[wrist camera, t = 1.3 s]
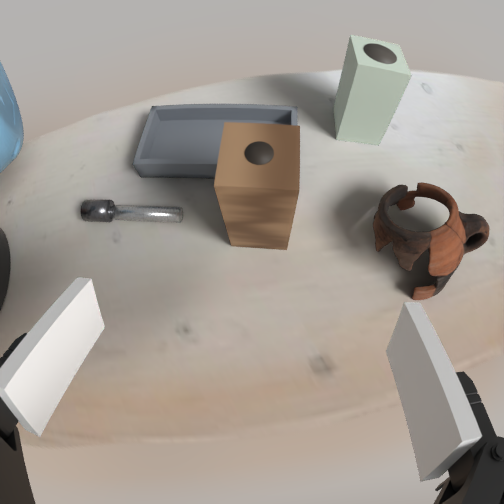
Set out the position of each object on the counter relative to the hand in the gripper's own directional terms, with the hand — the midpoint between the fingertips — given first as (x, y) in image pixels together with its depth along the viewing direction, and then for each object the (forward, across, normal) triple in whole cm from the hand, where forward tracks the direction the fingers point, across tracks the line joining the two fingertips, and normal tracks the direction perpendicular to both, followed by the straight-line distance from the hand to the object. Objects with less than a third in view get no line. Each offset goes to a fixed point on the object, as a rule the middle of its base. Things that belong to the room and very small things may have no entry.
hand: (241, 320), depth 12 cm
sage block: (+27, +10, +6) cm, 29 cm away
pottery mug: (+17, +16, -4) cm, 23 cm away
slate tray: (+24, -5, +3) cm, 24 cm away
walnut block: (+18, 0, -3) cm, 18 cm away
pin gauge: (+18, -13, -3) cm, 22 cm away
